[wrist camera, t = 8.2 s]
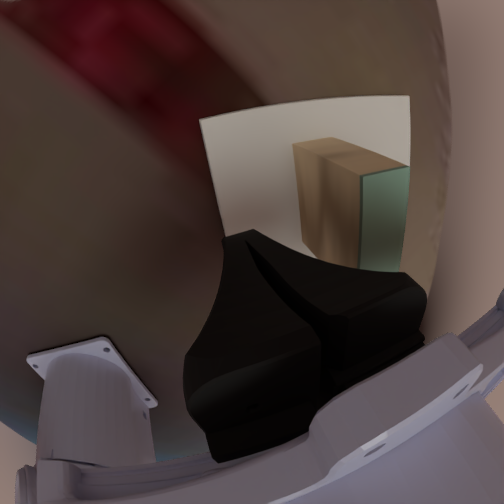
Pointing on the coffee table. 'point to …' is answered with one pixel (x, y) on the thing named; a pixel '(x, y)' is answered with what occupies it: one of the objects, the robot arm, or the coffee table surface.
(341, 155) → the oak slab
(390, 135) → the grey mat
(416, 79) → the coffee table surface
